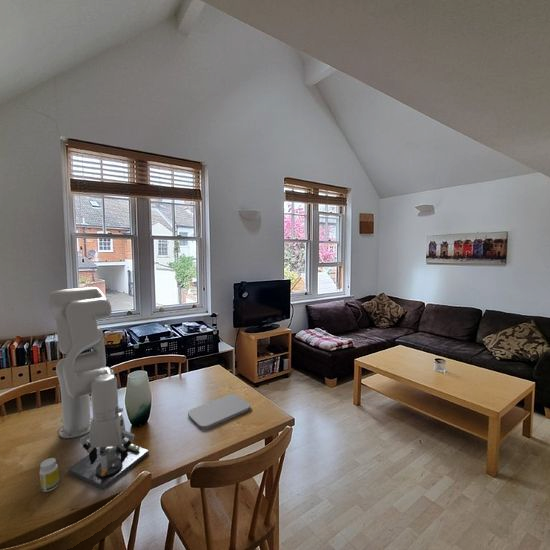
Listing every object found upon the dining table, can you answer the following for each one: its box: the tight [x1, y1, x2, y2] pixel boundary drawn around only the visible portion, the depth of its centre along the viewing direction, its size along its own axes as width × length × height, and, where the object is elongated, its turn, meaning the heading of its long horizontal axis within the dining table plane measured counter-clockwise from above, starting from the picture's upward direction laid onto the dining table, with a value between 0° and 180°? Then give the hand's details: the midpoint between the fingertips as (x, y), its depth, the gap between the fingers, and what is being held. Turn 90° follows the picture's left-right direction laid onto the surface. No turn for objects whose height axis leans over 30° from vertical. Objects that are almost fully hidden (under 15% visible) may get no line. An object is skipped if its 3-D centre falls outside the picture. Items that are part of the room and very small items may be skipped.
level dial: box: [96, 446, 123, 477], centre depth 102 cm, size 9×8×7 cm
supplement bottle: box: [38, 457, 60, 493], centre depth 97 cm, size 5×5×8 cm
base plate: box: [67, 443, 149, 491], centre depth 107 cm, size 18×18×3 cm
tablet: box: [187, 393, 251, 430], centre depth 140 cm, size 16×26×2 cm, turn 131°
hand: (109, 460), depth 103 cm, fingers open, 9 cm apart
